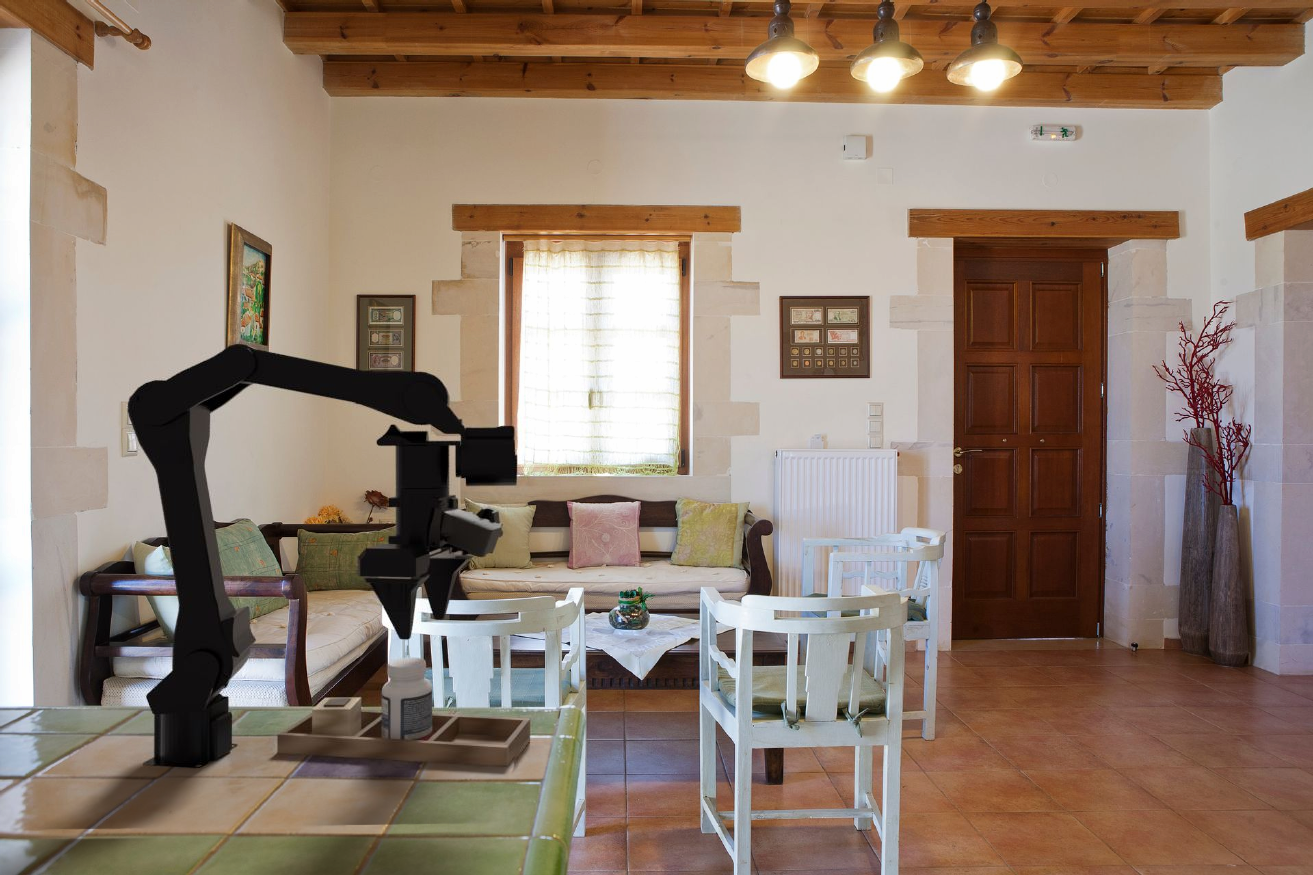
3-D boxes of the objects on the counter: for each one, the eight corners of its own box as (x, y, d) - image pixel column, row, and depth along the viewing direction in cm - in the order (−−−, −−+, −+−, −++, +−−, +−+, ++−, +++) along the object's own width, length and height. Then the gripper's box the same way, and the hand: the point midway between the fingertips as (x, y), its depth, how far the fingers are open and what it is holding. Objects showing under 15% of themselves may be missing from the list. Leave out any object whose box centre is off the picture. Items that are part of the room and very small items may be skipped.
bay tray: (277, 757, 88) (277, 734, 88) (320, 729, 97) (320, 707, 97) (506, 771, 85) (507, 747, 85) (530, 740, 94) (530, 718, 94)
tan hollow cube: (311, 746, 90) (312, 707, 90) (324, 733, 94) (325, 695, 94) (349, 746, 90) (350, 707, 90) (361, 732, 94) (361, 695, 94)
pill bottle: (440, 737, 93) (441, 657, 93) (418, 754, 88) (418, 670, 88) (396, 733, 94) (397, 654, 94) (372, 750, 89) (372, 666, 89)
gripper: (461, 494, 82) (462, 653, 82) (518, 482, 100) (519, 612, 101) (354, 493, 83) (355, 649, 84) (430, 481, 102) (430, 610, 102)
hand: (423, 628), depth 92 cm, fingers open, 9 cm apart
